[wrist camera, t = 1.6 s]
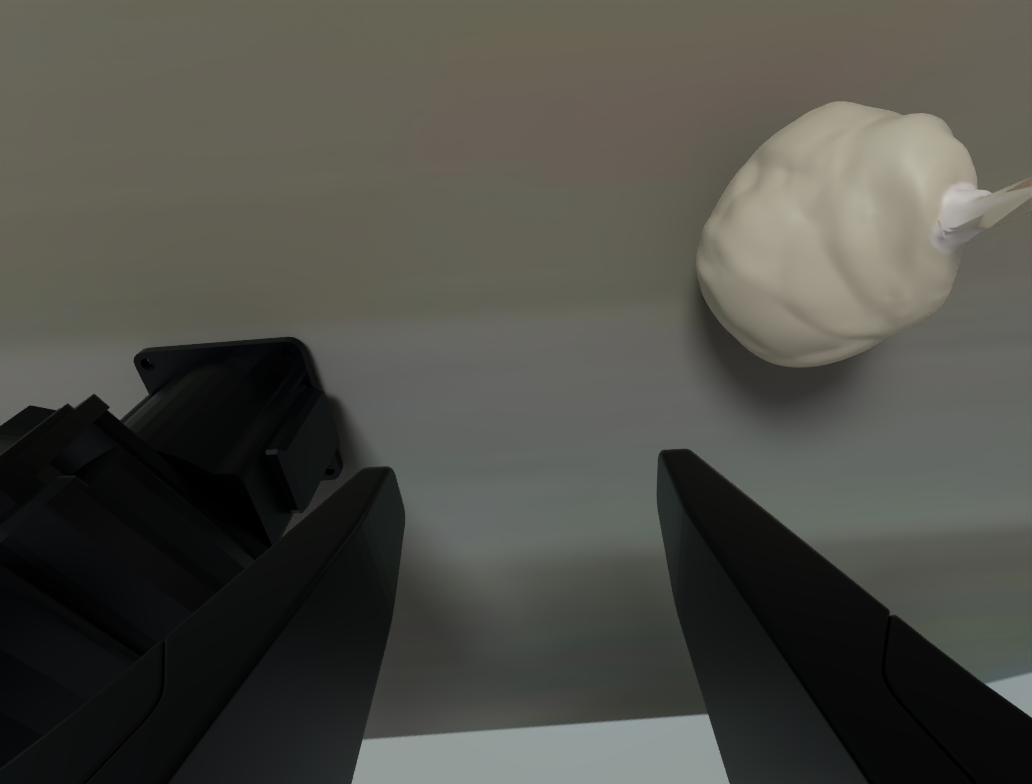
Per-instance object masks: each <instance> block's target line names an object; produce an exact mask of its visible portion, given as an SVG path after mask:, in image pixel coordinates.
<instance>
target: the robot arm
mask: <svg viewBox="0 0 1032 784" xmlns="http://www.w3.org/2000/svg"><path fill="white" fill-rule="evenodd" d="M286 348H291V349H292V350H293V351H294V352H295V355H291V354H289V353H288V352H287V351H286ZM147 359H149V360H151V361H152V362H153V364H154V365H152V364H150V363H149V362H148V361H147ZM134 364H135V367H136V369H137V371H138V373H139V375H140V377H141V379H142V381H143V383H144V385H145V387H146V389H147V391H148V393H149V395H148V396H147V397H146V398H144V399H143V400H142V401H141V402H140V403H139V404H138V405H137V406H135V407H134V408H133V409H132V410H131V411H130V412H129V413H128V414H127V415H125V416H124V417H123V418H122V419H121V420H118V419H117V418H116V417H115V416H114V415H113V414H111V413H110V412H109V411H108V410H107V409H109V408H110V407H109V406H108V405H107V404H106V403H104V402H103V401H102V400H101V399H100V398H99V397H97V396H96V395H95V394H93V395H92V396H90V397H89V398H87V399H86V400H84V401H83V402H82V403H80V404H79V405H77V406H76V407H75V408H73V407H72V406H70V405H69V404H66V405H65V406H63V407H62V408H60V409H58V410H52V409H46V408H41V407H36V406H31V405H30V406H28V407H27V408H25V409H24V410H22V411H21V412H20V413H18V414H17V415H15V416H14V417H12V418H11V419H10V420H8V421H7V422H5V423H4V424H3V425H1V426H0V784H351V783H352V779H353V774H354V771H355V767H356V763H357V759H358V755H359V751H360V747H361V743H362V739H363V735H364V731H365V727H366V723H367V719H368V715H369V711H370V707H371V703H372V699H373V695H374V691H375V687H376V683H377V679H378V675H379V671H380V667H381V663H382V659H383V655H384V651H385V647H386V643H387V639H388V635H389V631H390V626H391V621H392V616H393V610H394V603H395V596H396V588H397V581H398V573H399V565H400V557H401V550H402V542H403V534H404V527H405V510H404V505H403V502H402V498H401V494H400V490H399V487H398V483H397V479H396V475H395V473H394V471H393V469H392V468H390V467H388V466H385V467H368V468H364V469H362V470H361V471H360V472H358V473H357V474H356V475H355V476H354V477H352V478H351V479H350V480H349V481H348V482H347V483H345V484H344V485H343V486H342V487H341V488H340V489H338V490H337V491H336V492H335V493H334V494H333V495H331V496H330V497H329V498H328V499H327V500H325V501H324V502H323V503H322V504H321V505H320V506H318V507H317V508H316V509H315V510H314V511H313V512H311V513H310V514H309V515H308V516H307V517H305V518H304V519H303V520H302V521H301V522H300V523H298V524H297V525H296V526H295V527H294V528H293V529H291V530H290V531H289V532H288V533H287V534H285V535H284V536H283V537H282V535H283V533H284V531H285V529H286V527H287V525H288V523H289V522H290V520H291V518H292V516H293V514H294V513H303V511H304V510H305V509H306V508H307V507H308V505H309V503H310V501H311V499H312V497H313V495H314V493H315V491H316V489H317V487H318V485H319V483H320V481H321V480H333V479H336V478H338V477H339V475H340V473H341V471H342V469H343V463H342V460H341V457H340V454H339V450H338V445H339V443H340V441H339V437H338V434H337V431H336V428H335V425H334V421H333V418H332V415H331V412H330V409H329V406H328V403H327V400H326V396H325V393H324V392H323V391H322V390H321V389H320V388H319V387H318V386H317V382H316V379H315V376H314V373H313V370H312V367H311V364H310V361H309V358H308V355H307V352H306V348H305V346H304V345H303V343H302V342H301V341H300V340H298V339H296V338H294V337H280V338H267V339H255V340H242V341H229V342H217V343H204V344H192V345H179V346H166V347H154V348H146V349H143V350H142V351H141V352H139V353H138V354H137V355H136V356H135V357H134ZM328 466H331V467H332V468H333V469H329V468H327V467H328ZM657 507H658V514H659V519H660V525H661V530H662V536H663V542H664V547H665V553H666V558H667V564H668V570H669V575H670V581H671V586H672V592H673V596H674V601H675V606H676V610H677V613H678V617H679V621H680V624H681V627H682V631H683V634H684V637H685V640H686V644H687V647H688V650H689V653H690V657H691V660H692V663H693V666H694V670H695V673H696V676H697V679H698V683H699V686H700V689H701V692H702V695H703V699H704V702H705V705H706V708H707V712H708V715H709V718H710V721H711V724H712V728H713V731H714V734H715V738H716V741H717V744H718V747H719V750H720V754H721V757H722V760H723V764H724V767H725V770H726V773H727V776H728V780H729V783H730V784H1032V718H1031V717H1030V716H1028V715H1027V714H1026V713H1024V712H1023V711H1022V710H1020V709H1019V708H1017V707H1016V706H1015V705H1013V704H1012V703H1011V702H1009V701H1008V700H1006V699H1005V698H1003V697H1002V696H1001V695H999V694H998V693H997V692H995V691H994V690H992V689H991V688H990V687H988V686H987V685H985V684H984V683H983V682H981V681H980V680H978V679H977V678H976V677H975V676H973V675H972V674H971V673H969V672H968V671H967V670H966V669H964V668H963V667H962V666H960V665H959V664H958V663H956V662H955V661H954V660H953V659H951V658H950V657H949V656H947V655H946V654H945V653H943V652H942V651H941V650H940V649H938V648H937V647H936V646H934V645H933V644H932V643H931V642H929V641H928V640H927V639H925V638H924V637H923V636H922V635H920V634H919V633H918V632H917V631H915V630H914V629H913V628H912V627H910V626H909V625H908V624H907V623H905V622H904V621H903V620H902V619H901V618H899V617H898V616H896V615H891V616H890V611H889V609H888V608H886V607H885V606H884V605H883V604H881V603H880V602H879V601H878V600H876V599H875V598H874V597H873V596H872V595H870V594H869V593H868V592H867V591H865V590H864V589H863V588H862V587H860V586H859V585H858V584H857V583H855V582H854V581H853V580H852V579H850V578H849V577H848V576H847V575H845V574H844V573H843V572H842V571H840V570H839V569H838V568H837V567H835V566H834V565H833V564H832V563H830V562H829V561H828V560H827V559H826V558H824V557H823V556H822V555H821V554H819V553H818V552H817V551H816V550H814V549H813V548H812V547H811V546H809V545H808V544H807V543H806V542H804V541H803V540H802V539H801V538H799V537H798V536H797V535H796V534H794V533H793V532H792V531H791V530H789V529H788V528H787V527H786V526H784V525H783V524H782V523H781V522H779V521H778V520H777V519H776V518H775V517H773V516H772V515H771V514H770V513H768V512H767V511H766V510H765V509H763V508H762V507H761V506H760V505H758V504H757V503H756V502H755V501H753V500H752V499H751V498H750V497H748V496H747V495H746V494H745V493H743V492H742V491H741V490H740V489H738V488H737V487H736V486H735V485H733V484H732V483H731V482H730V481H729V480H727V479H726V478H725V477H724V476H722V475H721V474H720V473H719V472H717V471H716V470H715V469H714V468H712V467H711V466H710V465H709V464H707V463H706V462H705V461H704V460H702V459H701V458H700V457H699V456H697V455H696V454H695V453H694V452H692V451H691V450H689V449H671V450H662V451H661V452H660V453H659V456H658V473H657ZM281 537H282V538H281Z"/></svg>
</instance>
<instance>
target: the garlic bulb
mask: <svg viewBox="0 0 1032 784" xmlns="http://www.w3.org/2000/svg"><path fill="white" fill-rule="evenodd" d="M1031 211H1032V176H1031V177H1029V178H1026V179H1024V180H1022V181H1019V182H1017V183H1015V184H1013V185H1010V186H1008V187H1006V188H1003V189H1001V190H999V191H996V192H994V193H990V192H989V191H985V190H978V186H977V176H976V172H975V168H974V165H973V163H972V160H971V157H970V155H969V153H968V151H967V149H966V148H965V146H964V145H963V144H962V143H961V142H960V141H958V140H957V139H956V138H954V137H953V134H952V132H951V130H950V128H949V127H948V125H947V124H946V123H945V122H944V121H943V120H941V119H940V118H938V117H936V116H934V115H930V114H925V113H915V114H909V115H900V114H898V113H896V112H892V111H889V110H884V109H880V108H874V107H869V106H864V105H860V104H856V103H852V102H845V101H837V102H831V103H828V104H826V105H823V106H821V107H819V108H816V109H814V110H811V111H809V112H808V113H806V114H804V115H803V116H801V117H800V118H798V119H797V120H795V121H793V122H792V123H790V124H789V125H787V126H785V127H784V128H782V129H781V130H779V131H778V132H777V133H775V134H774V135H773V136H772V137H770V138H769V139H768V140H767V141H766V142H765V143H763V144H762V145H761V146H760V147H759V148H758V149H757V150H756V151H755V152H754V154H753V155H752V156H751V157H750V159H749V160H748V161H747V162H746V163H745V164H744V165H743V166H742V167H741V168H740V169H739V171H738V172H737V173H736V174H735V176H734V177H733V179H732V180H731V181H730V183H729V185H728V186H727V188H726V189H725V191H724V192H723V194H722V195H721V197H720V199H719V201H718V203H717V204H716V206H715V208H714V210H713V212H712V214H711V216H710V218H709V219H708V221H707V222H706V224H705V225H704V227H703V230H702V233H701V239H700V243H699V246H698V250H697V254H696V274H697V279H698V281H699V285H700V289H701V292H702V295H703V297H704V299H705V301H706V303H707V305H708V306H709V308H710V310H711V311H712V313H713V314H714V315H715V317H716V318H717V320H718V321H719V322H720V323H721V325H722V326H723V327H724V328H725V329H726V330H727V331H728V332H729V333H730V334H732V335H733V336H734V337H735V338H736V339H737V340H738V341H739V342H740V343H741V344H742V345H743V346H744V347H745V348H747V349H748V350H749V351H750V352H752V353H753V354H755V355H756V356H758V357H760V358H761V359H763V360H765V361H768V362H770V363H773V364H776V365H780V366H786V367H815V366H822V365H826V364H831V363H834V362H838V361H841V360H844V359H847V358H850V357H852V356H855V355H857V354H860V353H862V352H864V351H866V350H868V349H870V348H872V347H873V346H875V345H877V344H878V343H880V342H882V341H883V340H885V339H886V338H888V337H890V336H893V335H896V334H899V333H901V332H903V331H905V330H907V329H909V328H911V327H913V326H914V325H916V324H918V323H920V322H921V321H923V320H925V319H926V318H928V317H929V316H930V315H932V314H933V313H934V312H935V311H937V310H938V309H939V308H940V307H941V306H942V304H943V303H944V302H945V300H946V299H947V297H948V295H949V293H950V291H951V288H952V285H953V282H954V280H955V277H956V274H957V272H958V269H959V265H960V262H961V258H962V253H963V250H964V248H965V246H966V244H967V241H968V240H970V239H971V238H972V237H974V236H975V235H976V234H977V233H981V232H983V231H985V230H987V229H989V228H991V227H994V226H997V225H1001V224H1004V223H1006V222H1009V221H1011V220H1013V219H1015V218H1018V217H1020V216H1022V215H1024V214H1027V213H1029V212H1031Z"/></svg>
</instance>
